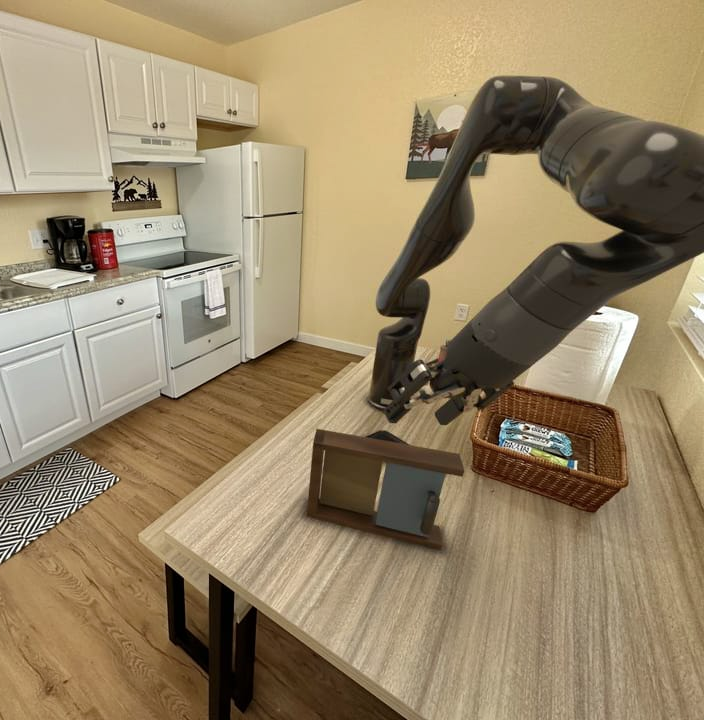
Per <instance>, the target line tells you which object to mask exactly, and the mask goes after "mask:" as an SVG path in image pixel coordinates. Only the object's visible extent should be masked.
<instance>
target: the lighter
mask: <svg viewBox="0 0 704 720" xmlns="http://www.w3.org/2000/svg"><path fill="white" fill-rule="evenodd" d="M451 340H452V339H446V340H445V344H440V346H439V349H440V350H439V355H438V357H437V358H438V362H436V364H438V363H439V362H441V361H443V360H444V359H445V357H446V353H447V346H448V343H449V342H450V341H451Z"/></svg>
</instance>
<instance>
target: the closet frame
mask: <svg viewBox="0 0 704 720" xmlns="http://www.w3.org/2000/svg"><path fill="white" fill-rule="evenodd" d="M311 451H312V452H311V462H310V473H309V485H308V497H307V506H306V507H307V509H306V518H310V519H314V520H318V521H322V522H325V523H330V524H334V525H337V526H342V527H346V528H349V529H354V530H358V531H362V532H366V533H369V534H374V535H377V536H382V537H384V538H385V537H386V538H389V539H394V540H397V541H402V542H404V543H405V542H406V543H410V544H413V545H418V546H422V547H426V548H430V549H433V550H437V551H442V549H443V546H444V545H443V540H442V534H441V529H440V528H441V527H440V525H436V524H434V526H433V529H432V533H431V534H430V535H429V537H424V536H420V535H416V534H411V533H407V532H403V531H399V530H395V529H391V528H387V527H383V526H379V525H376V524H375V520H376V515H377V510H375V507H376V502H377V501H376V500H377V496H378V495H377V494H378V491H379V484H380V479H381V474H382V468H383V463H386V462H388V463H393V464H398V465H403V466H409V467H414V468H419V469H424V470H429V471H435V472H440V473H445V474H446V475H450V476H456V477H462V478H463V477H464V475H465V472H466V470H465V466H464V464H463V460H462V457H461V454H460V453H457V452H452V451H445V450H440V449H436V448H435V449H434V448H429V447H423V446H417V445H413V444H412V445H411V444H410V445H407V444H401V443H395V442H390V441H384V440H378V439H373V438H367V437H366V436H361V435H355V434H349V433H343V432H337V431H332V430H326V429H321V428H316V430H315V434H314V438H313V441H312V450H311Z"/></svg>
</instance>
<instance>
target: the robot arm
mask: <svg viewBox="0 0 704 720" xmlns="http://www.w3.org/2000/svg"><path fill="white" fill-rule="evenodd" d="M489 154H490V155H504V156H521V155H537V162H538V165H539V168H540V171H541V172H542V173H543V175H544V176H545V177H546V178H547V179H548V180H550V182H552V183H553V184H555V185H557V186H558V187H559V188H560V189H562V190H563V191H565V192H566V193H568V194H569V195H570V196H571V199H572V200H573V202H574V204H575V205H576V207H577V208H578V209H580V210H581V212H583V213H584V214H587V215H588V216H590V217H591V218H593V219H595V220H596V221H599V222H600V223H603V224H606V225H607V226H610V227H613V228H616V229H618V230H620V231H619V232H616V233H614V234H613V235H611V236H608V237H607V238H605V239H603V240H600V241H595V242H583V241H582V242H579V241H558V242H554V243H553V244H550V245H549V246H547V247H546V248H544V250H543V251H541V252H540V253H539V254H538V255H537V256H536V257H535V258H534V259H533V260H532V261H531V262H530V263H529V264H528V265H527V266H526V267H525V268H524V269H523V270H522V271H521V272H520V273H519V275H517V276H516V277H515V279H513V280H512V281H511V283H509V284H508V285H507V286H506V287H505V288H504V289H503V290H501V291H500V292H499V293H497V295H495V296H494V297H492V298H491V299H490V300H489V301H488V302H487V303H486V304H485V305H484V306H483V307H482V308H481V309H479V311H478V312H477V313H476V315H474V316H473V317H472V318H471V319H470V320H469V321H468V323H466V324H465V325H464V326H463V327H462V329H461V330H459V332H458V333H456V335H455V336H454V337H453V338H451V339H450V340H451V341H450V342H449V343H448V346H447V353H446V357H445V359H444V360H443V361H441V362H439V363H438V358H439V357H437V358H436V359H433V360H430V361H429V362H426V363H425V361H424V360H423V359H417V360H416V354H417V349H418V345H419V340H420V339H421V336H422V333H423V329H424V325H425V322H426V317H427V313H428V310H429V306H430V301H431V286H430V284H429V282H428V280H427V279H425V278H422V276H424V275H425V274H427V273H429V272H431V271H432V270H434V269H436V268H438V267H440V266H441V265H442V264H444V263H445V262H447V261H448V260H449V259H451V258H452V257H453V256H454V255H455V254H456V252H457V251H458V250H459V248H460V247H461V246H462V244H463V242H465V240H466V238H467V237H468V236H469V234H470V232H471V231H472V230H473V227H474V224H475V219H476V210H475V204H474V199H473V198H474V197H473V193H472V189H471V173H472V171H473V168H474V165H475V164H476V163H477V161H478V159H479V158H480V157H481V156H482V155H489ZM409 232H410V233H409V235H408V237H407V239H406V240H405V243H404V245H403V246H402V249H401V251H400V253H399V255H398V256H397V258H396V259H395V261H394V263H393V265H392V266H391V267H390V269H389V270H388V272H387V273H386V275H385V276H384V278H383V279H382V281H381V283H380V285H379V287H378V290H377V292H376V295H375V309H376V311H377V313H378V314H379V315H380V316H382V317H384V318H385V317H386V318H392V319H393V318H395V319H396V318H397V319H398V320H397V321H395V322H394V323H391V324H390V325H387V326H384V327H382V328H381V329H380V330H379V331H378V333H377V340H376V346H375V353H374V360H373V367H372V372H371V373H372V374H371V379H370V386H369V393H368V395H367V396H368V397H367V402H368V403H369V405H371V406H372V407H373V408H376V409H378V410H381V411H383V412H384V415H385V417H386V420H387V422H388V423H389V424H397V423H398V422H399V421H400V420H401V419H403V418H404V417H405V416H406V415H407V414H408V413H409V412H410V411H411V410H412V408H414V407H417V406H420V405H422V404H427V405H431V404H433V403H435V402H438V401H440V400H443V399H447V401H446V402H445V403H444V404H443V405H441V406H440V407H439V408H437V410H436V411H435V412H434V417H435V419H436V420H437V422H438V424H439V425H440V426H448V425H449V424H451V423H452V422H453V421H455V420H456V419H457V418H459V416H461V415H462V414H463V413H468V412H471V411H472V410H473V409H474V408H476V409H477V411H481V410H485V409H486V408H487V407H489V406H490V405H491V404H492V403H493V402H494V401H496V400H497V399H498V398H499V397H501V396H502V395H503V394H504V393H506V392H507V391H508V390H509V389H511V388H512V387H514V385H515V382H514V381H515V380H516V379H517V378H518V377H520V376H521V375H523V374H524V373H525V372H526V371H527V370H528V369H530V368H531V367H533V366H534V365H535V364H537V363H538V362H539V361H540V360H541V359H543V358H544V357H545V356H547V355H548V354H550V352H552V351H553V350H554V349H555V348H556V347H558V346H559V345H560V344H561V343H562V342H563V341H564V340H565V339H566V337H568V336H569V335H570V334H571V333H572V332H573V331H574V330H575V329H577V328H578V327H579V326H580V325H581V324H583V323H584V322H585V321H587V320H588V319H590V317H592V316H593V315H594V314H595V313H597V312H599V310H601V309H602V308H604V306H606V305H608V303H609V302H610V301H612V300H613V299H615V298H616V297H617V296H619V295H621V294H623V293H626V292H627V291H629V290H631V289H635V288H636V287H638V286H640V285H643V284H645V283H647V282H649V281H651V280H653V279H655V278H657V277H659V276H661V275H663V274H665V273H666V272H669V271H671V270H673V269H675V268H676V267H679V266H681V265H683V264H685V263H686V262H688V261H689V262H690V261H691V260H693V259H694V258H697V257H698V256H700V255H703V254H704V134H701V133H699V132H696V131H693V130H690V129H688V128H685V127H681V126H678V125H674V124H672V123H671V124H670V123H667V122H663V121H662V122H661V121H656V120H645V119H643V118H641V117H640V118H639V117H637V116H633V115H630V114H627V113H624V112H619V111H616V110H613V109H609V108H605V107H601V106H598V105H595V104H593V103H591V102H590V101H589V100H588V99H586V98H584V96H582V95H581V94H580V93H579V92H578V91H577V90H576V89H575V88H574V87H573V86H571V85H570V84H569V83H567V82H565V81H564V80H562V79H560V78H558V77H557V78H556V77H553V76H539V75H509V74H508V75H506V74H505V75H504V74H503V75H495V76H492V77H490V78H489V79H487V80H486V81H484V82H483V84H481V86H480V88H479V89H478V90H477V92H476V93H475V95H474V97H473V99H472V100H471V101H470V104H469V106H468V108H467V110H466V112H465V114H464V118H463V119H462V122H461V124H460V126H459V128H458V131H457V133H456V135H455V138H454V140H453V143H452V145H451V148H450V150H449V153H448V155H447V158H446V160H445V163H444V164H443V167H442V170H441V172H440V174H439V176H438V178H437V180H436V181H435V184H434V186H433V188H432V190H431V192H430V194H429V196H428V197H427V200H426V202H425V203H424V205H423V207H422V208H421V210H420V211H419V214H418V216H417V218H416V219H415V221H414V224H413V226H412V228H411V230H410V231H409ZM399 318H400V319H399ZM435 363H436V364H435ZM437 363H438V364H437ZM433 364H434V365H433ZM425 386H429V388H430V390H431V391H432V393H429V392H427V390H426V388H425ZM417 393H418V394H419V395H418V396H415V394H417ZM482 393H484V394H485V397H484V398H483V397H482V396H481V394H482ZM413 396H415V397H413ZM412 397H413V398H412ZM448 399H449V400H448Z"/></svg>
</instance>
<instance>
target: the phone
mask: <svg viewBox="0 0 704 720" xmlns="http://www.w3.org/2000/svg"><path fill="white" fill-rule="evenodd" d="M365 437H367V438H373V439H378V440H384V441H390V442H395V443H401V444H407V445H411V444H409V443H408V442H406V441H404V440H403V439H402V438H400V437H398V436H396V435H395V434H393V433H391V432H389V431H388V430H386V429H380V430H378V431H376V432H373V433H371V434H368V435H366V436H365Z"/></svg>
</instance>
